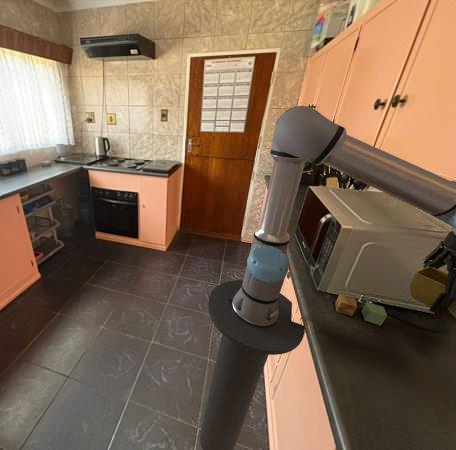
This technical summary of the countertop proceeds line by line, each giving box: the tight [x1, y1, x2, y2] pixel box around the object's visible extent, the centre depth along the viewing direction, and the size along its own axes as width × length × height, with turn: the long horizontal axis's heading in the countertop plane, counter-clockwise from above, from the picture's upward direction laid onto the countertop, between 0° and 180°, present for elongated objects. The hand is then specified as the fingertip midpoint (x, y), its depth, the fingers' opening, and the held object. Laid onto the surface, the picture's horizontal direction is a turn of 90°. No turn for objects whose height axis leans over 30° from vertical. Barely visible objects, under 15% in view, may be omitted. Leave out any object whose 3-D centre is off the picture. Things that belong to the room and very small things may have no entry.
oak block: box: [334, 293, 358, 317], centre depth 86 cm, size 4×4×4 cm
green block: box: [361, 301, 388, 326], centre depth 83 cm, size 4×4×4 cm
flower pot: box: [409, 266, 448, 308], centre depth 73 cm, size 9×9×9 cm
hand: (426, 298), depth 74 cm, fingers closed on flower pot, 11 cm apart
